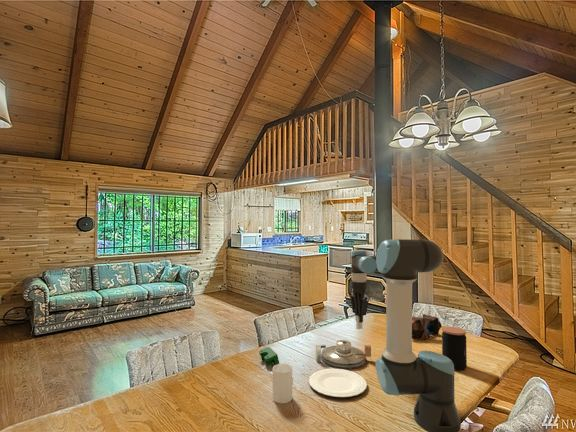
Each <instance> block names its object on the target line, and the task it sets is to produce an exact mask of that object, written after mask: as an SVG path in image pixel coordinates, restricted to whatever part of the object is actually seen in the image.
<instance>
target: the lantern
mask: <svg viewBox="0 0 576 432" xmlns="http://www.w3.org/2000/svg"><path fill="white" fill-rule="evenodd" d="M442 328H443V325H442V322H441V321H440V318H439V317H436V316H432V315H427V314H425V313H423V315H422V317H420V316H413V315H412V337H414V336H415V338H418V339H421V340H425V339H428V338H431V337H430V336H431V335H435V336H439V332H440V330H441V329H442Z"/></svg>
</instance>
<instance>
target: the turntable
mask: <svg viewBox="0 0 576 432" xmlns="http://www.w3.org/2000/svg"><path fill="white" fill-rule="evenodd" d="M322 349H323V350H321V353H322V357H323V358H324V359H325V360H327V361H329V362H331V363H335V364H340V365H354V364H358V363H361V362H363V361H364V359H365V357H366V358H372V346H371V345H370V344H368V345H367V344H364V351H363V350H362V349H359V348H357V347H354V346H351V350H352V351H353V355H352V356H350V357H341V356H338V355H336V354H335V353H334V350H335V349H336V345H331V346H326V348H322Z"/></svg>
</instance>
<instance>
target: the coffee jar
mask: <svg viewBox="0 0 576 432" xmlns="http://www.w3.org/2000/svg"><path fill="white" fill-rule="evenodd" d="M441 331H442V332H441V350H442V351H441V354H442V355H444V356H446V357H448V358H449V359H450V360H451V361H452V362H453V364H454V371H458V372H461V371H465V370H466V369H467V367H468V366H467V365H468V364H467V363H468V362H467V361H468V358H467V336H466V334H467V330H465V329H464V328H461V327H458V326H457V327H456V326H449V325H448V326H442V327H441Z"/></svg>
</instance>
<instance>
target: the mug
mask: <svg viewBox="0 0 576 432" xmlns="http://www.w3.org/2000/svg"><path fill="white" fill-rule="evenodd" d="M293 385H294V378H293V367H292V366H291V365H290V364H288V363H279V364H277V365H273V367H272V400H273V401H274V402H275V403H277V404H287V403H289V402H291V401H292V399H293Z"/></svg>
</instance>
